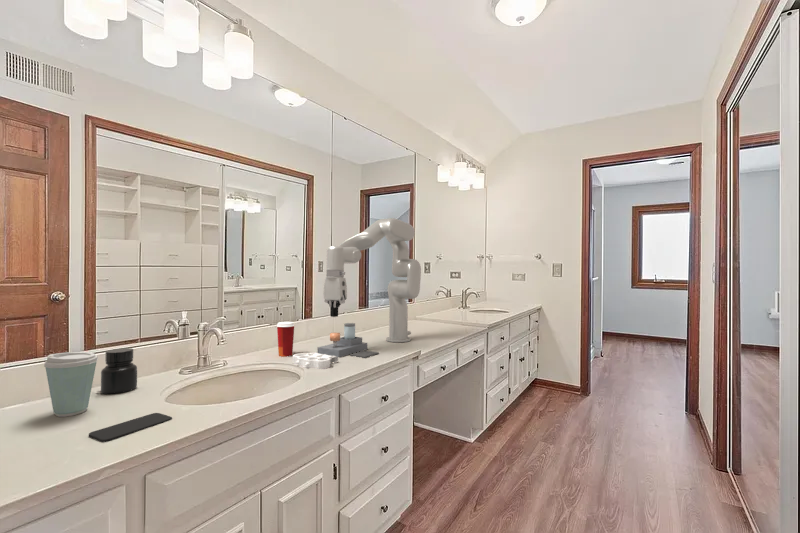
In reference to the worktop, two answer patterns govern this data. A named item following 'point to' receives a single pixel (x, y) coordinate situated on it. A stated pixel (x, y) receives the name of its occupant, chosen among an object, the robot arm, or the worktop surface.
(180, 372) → the worktop surface
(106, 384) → the ink bottle
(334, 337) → the plunger
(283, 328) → the paper cup
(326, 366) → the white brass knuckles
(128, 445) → the worktop surface
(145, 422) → the phone
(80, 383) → the disposable coffee cup
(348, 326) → the cylinder
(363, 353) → the mat
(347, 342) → the grey stepped block
